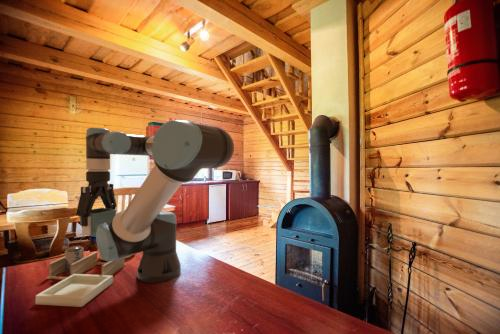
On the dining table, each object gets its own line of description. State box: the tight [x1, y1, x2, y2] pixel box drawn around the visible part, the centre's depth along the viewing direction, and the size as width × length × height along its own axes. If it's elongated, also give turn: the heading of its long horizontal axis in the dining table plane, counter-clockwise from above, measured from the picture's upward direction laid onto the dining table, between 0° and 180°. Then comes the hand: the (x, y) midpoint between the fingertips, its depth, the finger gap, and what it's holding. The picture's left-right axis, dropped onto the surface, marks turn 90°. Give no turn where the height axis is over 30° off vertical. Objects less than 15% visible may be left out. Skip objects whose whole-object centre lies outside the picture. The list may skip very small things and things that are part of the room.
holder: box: [46, 251, 127, 280], centre depth 92 cm, size 20×14×5 cm
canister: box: [64, 245, 85, 275], centre depth 92 cm, size 6×6×9 cm
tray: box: [35, 273, 114, 308], centre depth 77 cm, size 14×14×2 cm
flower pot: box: [79, 207, 117, 238], centre depth 90 cm, size 9×9×9 cm
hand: (98, 230), depth 90 cm, fingers closed on flower pot, 10 cm apart
